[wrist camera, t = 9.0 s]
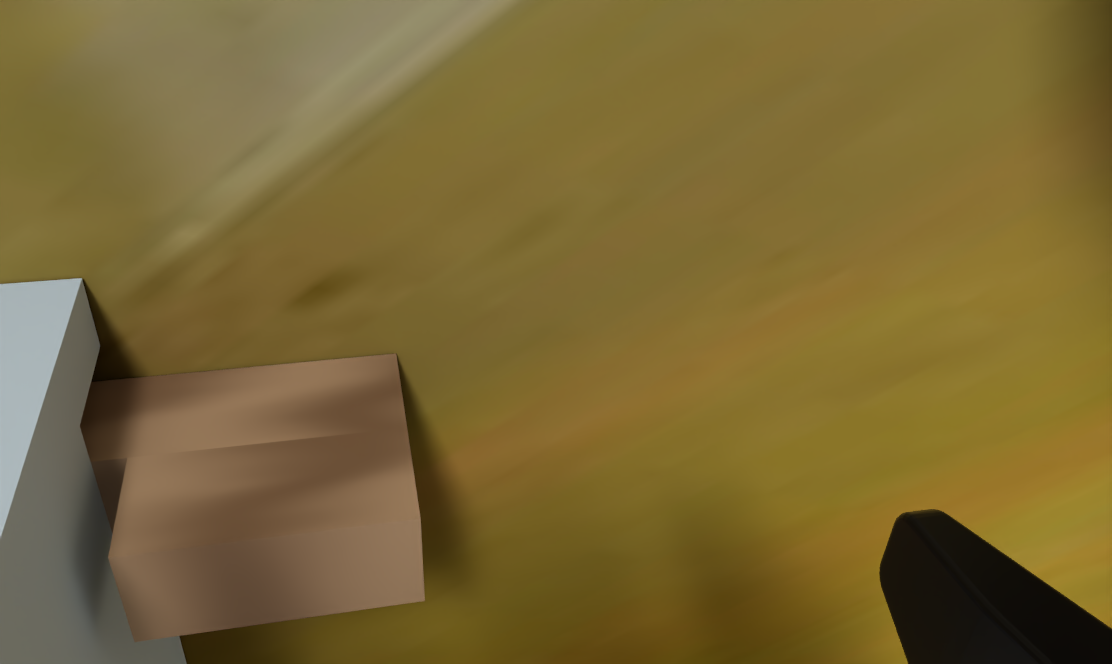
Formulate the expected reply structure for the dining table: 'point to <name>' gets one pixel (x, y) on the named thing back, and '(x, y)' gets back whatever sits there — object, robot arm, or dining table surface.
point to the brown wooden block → (256, 493)
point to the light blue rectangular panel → (55, 492)
